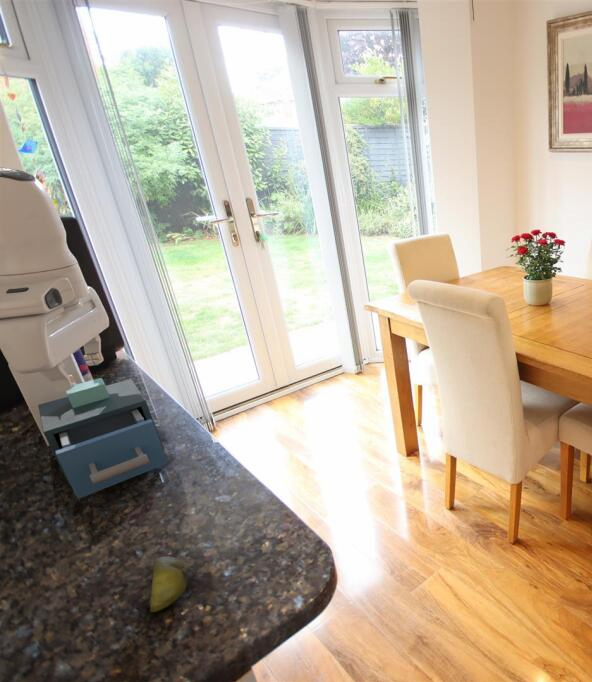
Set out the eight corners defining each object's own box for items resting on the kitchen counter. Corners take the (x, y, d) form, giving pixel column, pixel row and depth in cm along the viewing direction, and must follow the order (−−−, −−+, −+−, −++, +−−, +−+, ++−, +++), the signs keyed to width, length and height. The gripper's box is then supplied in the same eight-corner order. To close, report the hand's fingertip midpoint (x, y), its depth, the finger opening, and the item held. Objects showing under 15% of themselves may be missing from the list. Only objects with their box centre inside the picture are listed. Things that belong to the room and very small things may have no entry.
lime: (162, 625, 46) (145, 589, 44) (132, 609, 48) (115, 573, 46) (204, 589, 50) (191, 554, 48) (175, 575, 51) (161, 541, 49)
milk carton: (99, 415, 85) (58, 319, 78) (103, 430, 80) (59, 328, 73) (47, 431, 81) (-2, 330, 74) (48, 447, 76) (-4, 341, 69)
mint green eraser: (110, 397, 72) (104, 383, 71) (73, 408, 69) (66, 394, 68) (106, 390, 74) (101, 377, 73) (70, 401, 71) (64, 387, 70)
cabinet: (164, 449, 74) (145, 400, 71) (69, 485, 67) (43, 432, 63) (148, 424, 82) (131, 378, 78) (61, 454, 74) (37, 404, 71)
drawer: (176, 477, 66) (160, 433, 63) (82, 516, 59) (59, 470, 56) (152, 437, 76) (137, 398, 73) (69, 467, 69) (49, 426, 66)
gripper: (55, 275, 73) (88, 354, 79) (-33, 311, 56) (17, 410, 61) (103, 270, 75) (132, 348, 81) (33, 304, 58) (76, 401, 63)
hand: (82, 375), depth 71 cm, fingers open, 8 cm apart
